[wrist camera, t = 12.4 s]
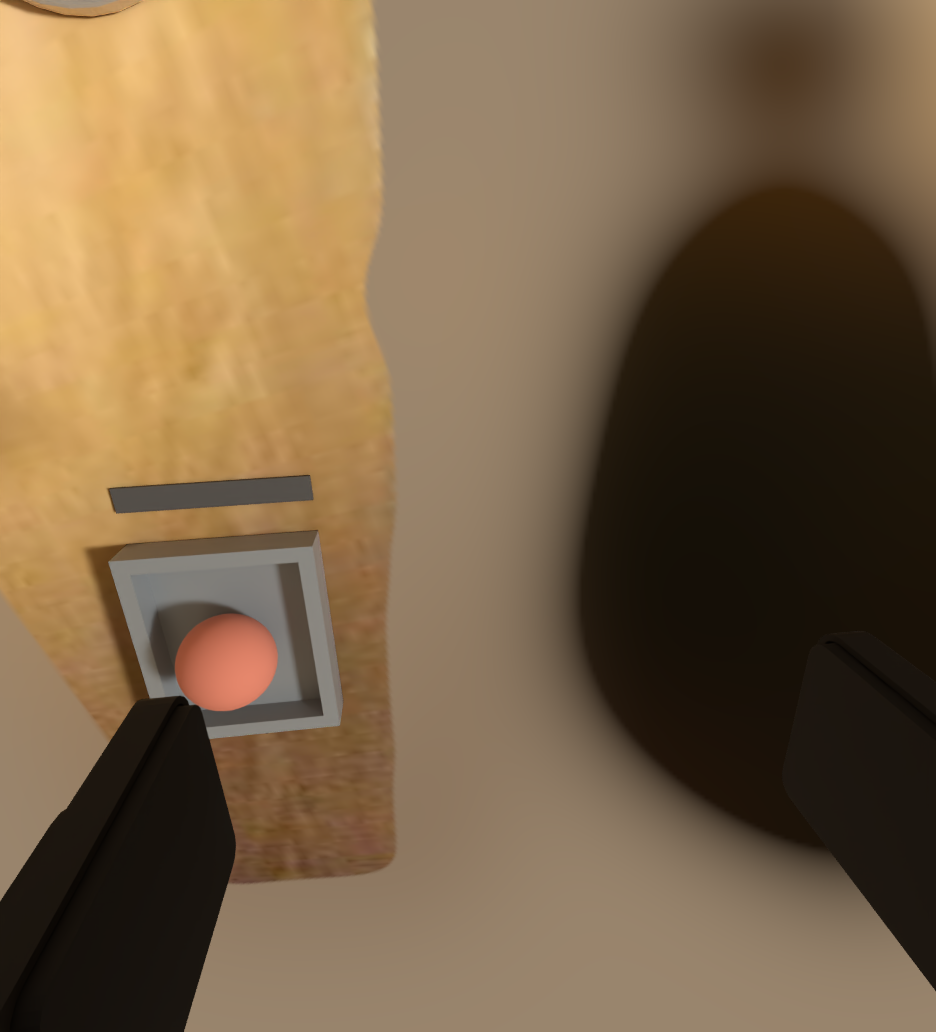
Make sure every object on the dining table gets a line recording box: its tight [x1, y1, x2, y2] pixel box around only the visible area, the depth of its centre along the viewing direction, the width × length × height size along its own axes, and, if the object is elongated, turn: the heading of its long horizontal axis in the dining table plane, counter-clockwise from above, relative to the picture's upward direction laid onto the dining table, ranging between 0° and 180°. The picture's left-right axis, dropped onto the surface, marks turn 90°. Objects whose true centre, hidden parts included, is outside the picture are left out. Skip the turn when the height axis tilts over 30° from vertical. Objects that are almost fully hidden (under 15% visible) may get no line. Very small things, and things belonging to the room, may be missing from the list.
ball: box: [175, 613, 278, 711], centre depth 36 cm, size 6×6×6 cm
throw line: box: [109, 475, 313, 514], centre depth 36 cm, size 2×12×1 cm, turn 92°
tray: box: [108, 530, 343, 739], centre depth 38 cm, size 14×12×2 cm
